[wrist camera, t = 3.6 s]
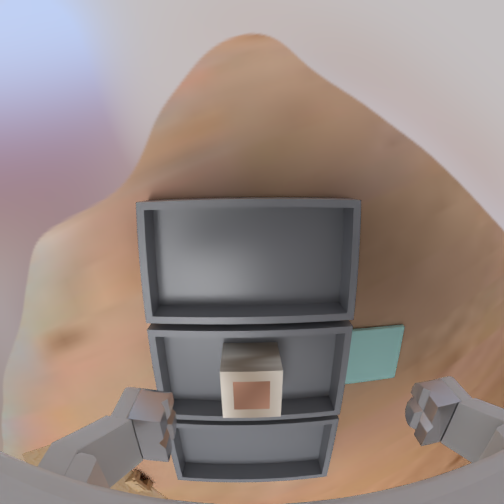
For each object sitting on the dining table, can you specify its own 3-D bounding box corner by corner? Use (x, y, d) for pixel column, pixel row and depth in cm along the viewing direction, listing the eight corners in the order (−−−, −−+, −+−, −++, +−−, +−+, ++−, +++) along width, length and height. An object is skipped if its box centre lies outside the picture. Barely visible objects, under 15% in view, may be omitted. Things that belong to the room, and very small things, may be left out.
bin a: (331, 400, 25) (338, 418, 23) (321, 458, 27) (326, 476, 24) (169, 403, 25) (163, 422, 22) (181, 461, 27) (178, 479, 24)
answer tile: (402, 324, 24) (404, 326, 24) (392, 375, 25) (394, 377, 25) (346, 329, 24) (348, 331, 24) (340, 381, 25) (341, 384, 25)
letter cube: (277, 342, 23) (283, 370, 20) (275, 385, 24) (281, 416, 20) (223, 342, 23) (219, 371, 19) (225, 386, 24) (223, 417, 20)
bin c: (348, 198, 22) (361, 200, 19) (342, 305, 24) (353, 319, 21) (147, 200, 22) (135, 202, 19) (155, 309, 23) (146, 323, 21)
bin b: (342, 312, 24) (352, 326, 21) (332, 396, 25) (339, 414, 23) (156, 315, 23) (147, 329, 21) (168, 399, 25) (162, 417, 22)
